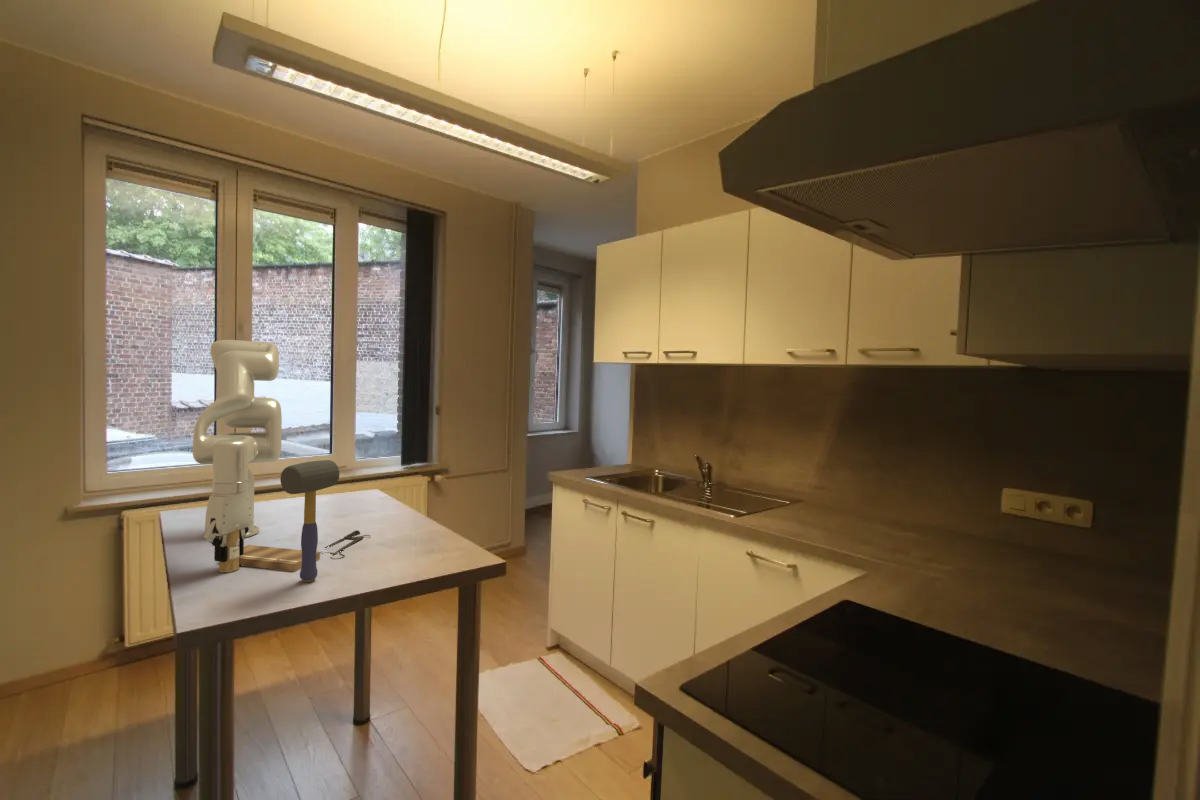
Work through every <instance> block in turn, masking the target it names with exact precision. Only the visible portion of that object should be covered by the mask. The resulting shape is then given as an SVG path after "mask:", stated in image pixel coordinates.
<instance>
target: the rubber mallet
mask: <svg viewBox="0 0 1200 800" xmlns="http://www.w3.org/2000/svg"><path fill="white" fill-rule="evenodd" d="M339 479H340V469H339V466H338V465H337V463H336V462H334V461H333V460H330V459H326V460H325V459H324V460H312V461H306V462H305V461H304V462H300V463H296V464H291V465H288V466H286V467H285V468H284V469H283V470H282V472H281V473H280V485H281V488H282V489H283V490H284V492H286V493H287V494H290V495H296V494H297V495H298V494H304V512H303V524H302V528H301V535H300V547H301V549H300V550H302V567H301V569H300V570H299V571H300V573H299V578H300V580H301V581H302V582H304V583H310V582H314V581H315V579H316V578H317V576H318V567H317V561H316V552H317V551H318V550H317V549H318V545H319V544H318V543H319V542H318V541H319V533H318V524H317V520H316V518H317V516H316V512H317V510H316V509H317V507H316V505H317V491H321V490H324V489H327V488H330V487H333V486H335V485H336V484H337V483H338V481H339Z"/></svg>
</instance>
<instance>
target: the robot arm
mask: <svg viewBox="0 0 1200 800" xmlns="http://www.w3.org/2000/svg"><path fill="white" fill-rule="evenodd" d="M210 357H211V360H212V363H213V366H214V368H215V370H216V372H217V384H216V398H215V400H214V402H213V403H211V404H209V406H207V407H206V408H205V409H204V410H203V411H202V412H201V414H200V415H199V416H198V418H197V420H196V421H195V425H194V428H193V429H194V430H193V438H192V439H193V440H192V456H193V457H192V458H193V459H194V461H195V462H196V463H198V464H200V465H212V486H211V487H212V494H210V495H209V498H208V501H207V504H206V505H207V506H206V512H205V522H204V531H205V534H204V536H203V539H204V540H205V541H207V542H209V543H210V544H211V545H212V547H214V553H213V554H214V557H213V558H214V560H213V561H215V562H219V563H220V562H226V561H227V551H228V547H227V546H225V544H226V539H227V534H229V533H231V532H234V531H235V530H239V540H240V541H239V555H240V556H241V555H243V554H244V547H245V546H244V545H245V544H244V543H245V542H244V540H245V539H246V538H248V537H253V536H255V535H257V534H258V533H259V532H260V527H259V526H257V525H255V524H254V523H255V520H254V519H255V475H254V474H253V472H252V470H250V468H249V464H259V463H273V462H277V461H278V460H279V459H280V457H281V455H282V421H283V420H282V419H283V418H282V416H283V415H282V407H281V404H280V402H279V400H277V399H275V398H272V397H271V398H270V397H255V381H261V382H262V381H263V382H264V381H265V382H270V381H271V382H272V381H274V380H275V379H276V378H277V377H278V374H279V369H280V368H279V367H280V353H279V348H278V346H277V345H276V344H275V343H273V342H268V341H266V342H265V341H254V340H253V341H252V340H241V339H239V340H237V339H221V340H216V341H214V342H213V343H211V346H210ZM220 419H221V421H222V424H223V426H225V427H227V428H230V429H231V428H232V429H263V430H264V431H265V432H248V431H247V432H243V431H241V432H226V433H223V434H220V435H219V434H215V435H214V434H213V435H207V433H208V429H209V427H210V426H211V425H212V424H213V423H215V422H216V421H218V420H220ZM237 524H239V526H237V527H236V525H237ZM220 536H222V537H221V540H220Z"/></svg>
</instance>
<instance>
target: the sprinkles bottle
mask: <svg viewBox="0 0 1200 800" xmlns="http://www.w3.org/2000/svg"><path fill="white" fill-rule="evenodd" d="M237 526H239V524H237V525H236V527H237ZM221 537H222V536H220V540H221ZM239 541H240V540H239V530H235V531H234V532H231V533H229V534H227V539H226V544H225V546H227V547H228V551H227V561H226V562H219V563H218V564H219V565H218V566H219V567H218V571H219V572H220V573H223V572H226V573H232V572H236V571H238V570H239V569H240V566H239Z"/></svg>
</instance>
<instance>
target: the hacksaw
mask: <svg viewBox="0 0 1200 800" xmlns="http://www.w3.org/2000/svg"><path fill="white" fill-rule="evenodd" d="M357 534H359V535H357ZM360 534H361V531H359V530H354V531H353V532H350V533H349V534H347V535H345V536H344V537H343V538H340V539H337V540H336V541H335V542H333V543H331V544H328V545H327V546H325V547H324V548H327V547H328V546H329V547H330V548H331V546H332V547H334V546H336V545H337V543H338V544H339V543H341V542H344V541H345V540H352V541H350V542H349V543H347V544H345V545H344V546H342V547H341V548H339V549H338V550H336V551H334V552H329V551H328V552H326V553H330V555H332V556H335V555H337V553H338V552H339V553H338V554H339V555H341V557H337V558H334V557H331V556H330V559H331V560H339V559H340V560H341V559H344V558H345V557H346V555H345V554H342V551H343V552H344V551H345V549H347V548H348V546H349V547H351V546H353V545H354V544H355V543H357V542H359V541H362V540H363V539H364V537H367V536H368V537H371V535H370V534H364V535H361V536H360ZM354 535H355V536H354ZM352 536H353V537H352ZM335 544H336V545H335ZM333 545H334V546H333ZM350 545H351V546H350ZM343 549H344V550H343ZM340 551H341V552H340ZM321 553H322V552H321ZM323 553H324V552H323ZM323 553H322V554H321V555H324V554H323Z"/></svg>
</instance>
